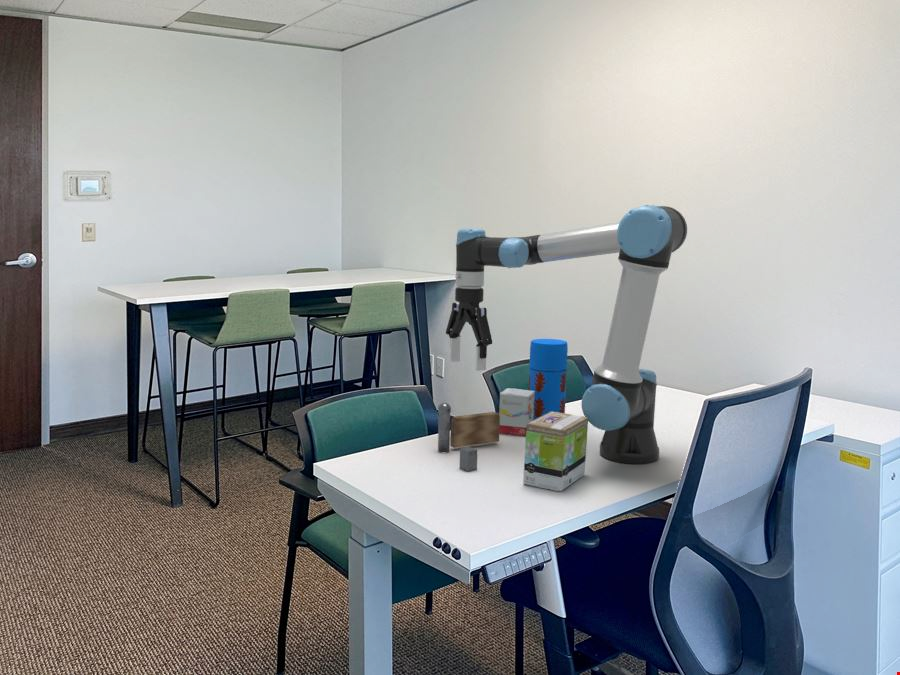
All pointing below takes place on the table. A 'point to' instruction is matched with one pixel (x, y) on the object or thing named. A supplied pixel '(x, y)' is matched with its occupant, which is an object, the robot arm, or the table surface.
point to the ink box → (516, 411)
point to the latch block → (468, 459)
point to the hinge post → (444, 427)
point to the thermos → (548, 375)
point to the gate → (474, 429)
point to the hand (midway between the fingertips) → (467, 365)
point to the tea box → (555, 450)
